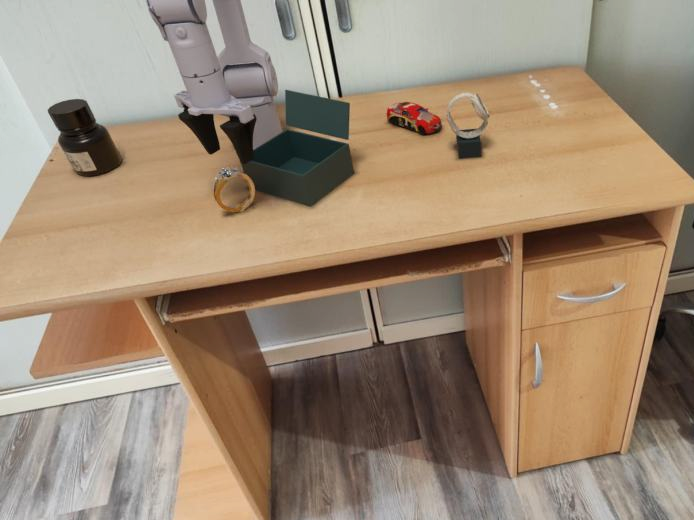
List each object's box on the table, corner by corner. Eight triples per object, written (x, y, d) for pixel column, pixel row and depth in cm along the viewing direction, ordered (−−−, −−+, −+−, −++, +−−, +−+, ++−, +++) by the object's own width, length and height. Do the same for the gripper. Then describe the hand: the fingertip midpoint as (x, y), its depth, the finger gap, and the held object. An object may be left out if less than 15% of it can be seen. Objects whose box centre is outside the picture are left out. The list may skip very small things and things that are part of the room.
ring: (256, 199, 104) (242, 158, 98) (263, 207, 102) (249, 165, 96) (218, 214, 101) (202, 172, 95) (225, 221, 99) (209, 179, 93)
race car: (447, 128, 120) (445, 109, 117) (429, 138, 117) (427, 119, 115) (401, 113, 126) (399, 94, 124) (384, 122, 124) (381, 103, 121)
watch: (491, 156, 111) (491, 98, 103) (449, 159, 111) (446, 102, 103) (488, 142, 115) (487, 86, 107) (447, 145, 115) (444, 89, 107)
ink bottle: (67, 167, 116) (33, 107, 107) (110, 150, 120) (80, 92, 112) (87, 182, 111) (52, 121, 103) (131, 164, 115) (101, 104, 107)
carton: (294, 157, 114) (286, 128, 110) (354, 173, 109) (348, 143, 105) (249, 188, 107) (238, 158, 103) (311, 206, 101) (302, 176, 97)
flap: (285, 125, 110) (287, 125, 110) (347, 140, 104) (348, 139, 104) (285, 89, 107) (286, 89, 107) (348, 102, 101) (350, 102, 101)
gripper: (145, 72, 85) (181, 158, 95) (215, 88, 80) (245, 177, 90) (182, 56, 89) (213, 139, 99) (251, 70, 84) (276, 157, 94)
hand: (231, 156), depth 95 cm, fingers open, 7 cm apart
